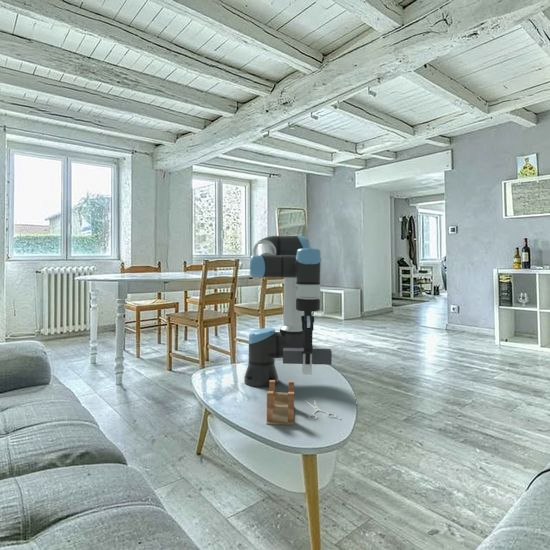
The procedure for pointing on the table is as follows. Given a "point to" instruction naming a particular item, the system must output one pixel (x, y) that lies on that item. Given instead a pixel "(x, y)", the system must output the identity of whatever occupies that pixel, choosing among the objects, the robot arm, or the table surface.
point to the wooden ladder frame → (280, 405)
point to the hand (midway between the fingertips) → (306, 371)
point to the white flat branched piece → (320, 411)
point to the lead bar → (297, 358)
